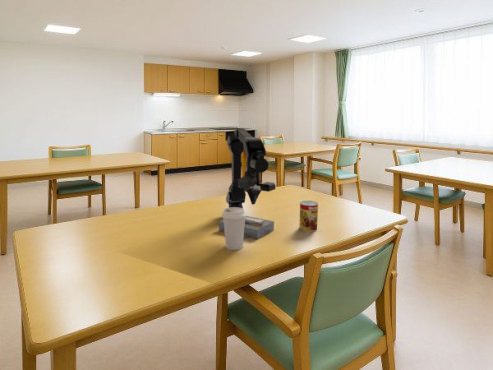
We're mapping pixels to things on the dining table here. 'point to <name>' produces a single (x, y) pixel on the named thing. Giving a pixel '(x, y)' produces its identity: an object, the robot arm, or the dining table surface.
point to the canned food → (308, 216)
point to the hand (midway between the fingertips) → (253, 204)
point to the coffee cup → (234, 227)
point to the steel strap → (254, 220)
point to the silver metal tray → (254, 228)
